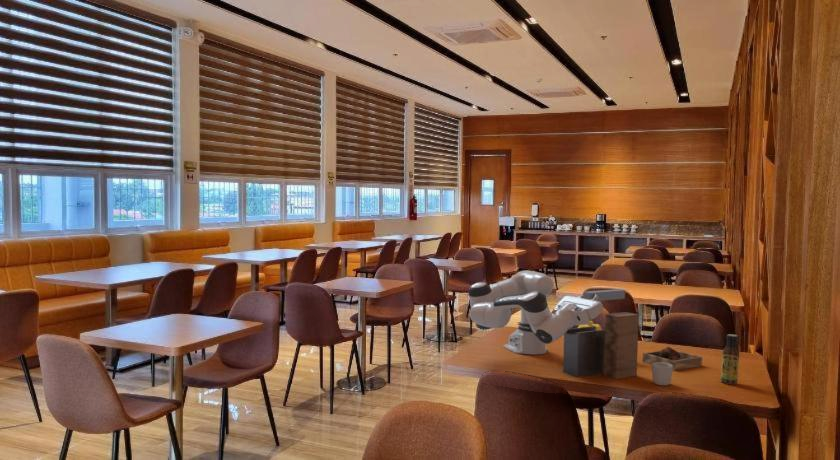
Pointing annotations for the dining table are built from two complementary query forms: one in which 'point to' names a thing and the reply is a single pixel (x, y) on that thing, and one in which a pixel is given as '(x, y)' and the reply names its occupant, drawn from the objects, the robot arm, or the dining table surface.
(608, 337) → the post
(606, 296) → the rail
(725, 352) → the sauce bottle
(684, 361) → the caddy
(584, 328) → the dark gray box
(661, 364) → the cup
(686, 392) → the dining table surface
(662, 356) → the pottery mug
